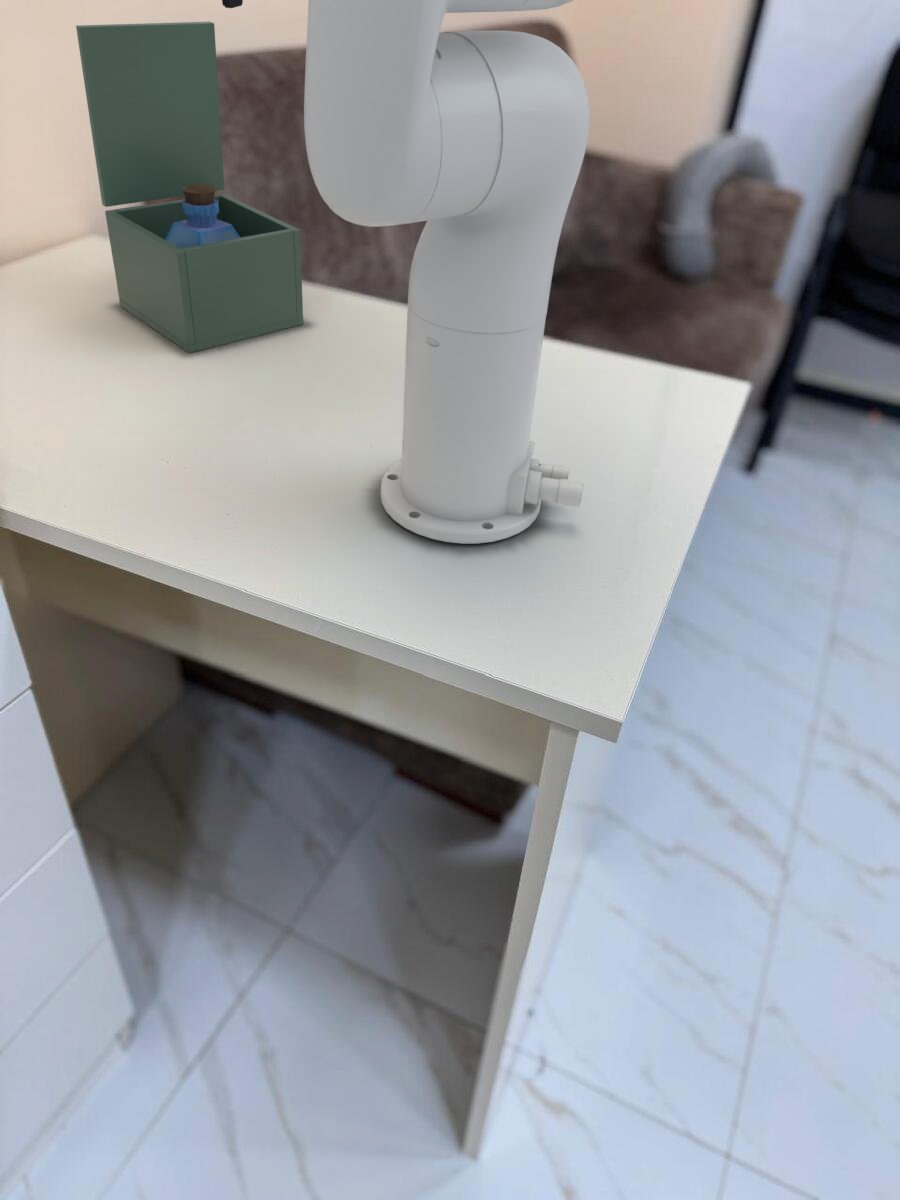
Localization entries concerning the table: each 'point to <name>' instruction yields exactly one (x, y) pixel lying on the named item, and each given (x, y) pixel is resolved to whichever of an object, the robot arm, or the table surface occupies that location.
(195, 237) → the perfume bottle
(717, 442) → the table surface
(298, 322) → the chest
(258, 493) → the table surface
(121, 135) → the lid
